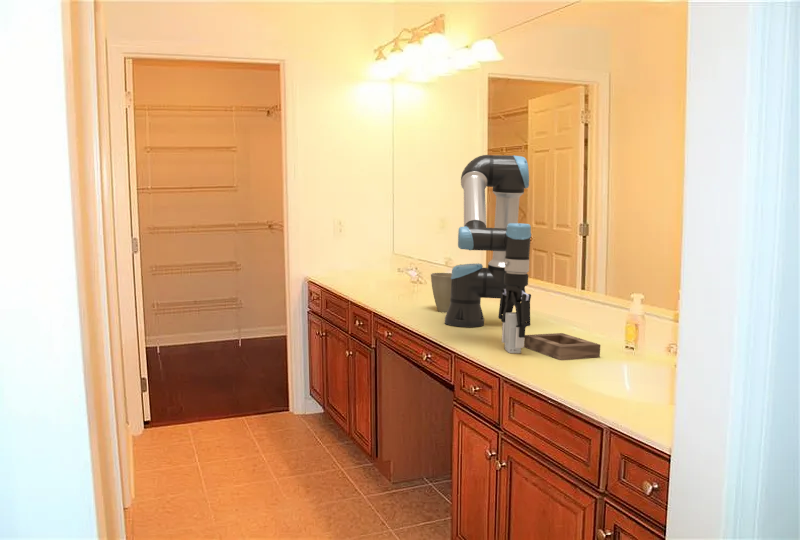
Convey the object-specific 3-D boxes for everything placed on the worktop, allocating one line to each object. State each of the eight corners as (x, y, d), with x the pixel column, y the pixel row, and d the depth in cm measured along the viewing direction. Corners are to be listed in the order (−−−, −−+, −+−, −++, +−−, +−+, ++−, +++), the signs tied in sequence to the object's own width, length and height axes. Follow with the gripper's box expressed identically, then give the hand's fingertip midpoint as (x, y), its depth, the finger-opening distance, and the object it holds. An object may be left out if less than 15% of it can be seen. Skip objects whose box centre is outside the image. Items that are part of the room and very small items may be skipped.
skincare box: (521, 353, 206) (523, 315, 205) (507, 353, 205) (509, 314, 204) (516, 349, 212) (519, 312, 211) (503, 349, 212) (505, 311, 210)
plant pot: (425, 312, 281) (426, 275, 279) (434, 307, 295) (435, 272, 293) (459, 315, 276) (461, 277, 275) (466, 310, 290) (468, 274, 289)
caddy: (523, 347, 216) (524, 335, 215) (561, 344, 222) (562, 333, 221) (560, 360, 198) (560, 347, 198) (599, 357, 204) (600, 344, 204)
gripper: (489, 269, 214) (485, 339, 216) (524, 276, 196) (520, 352, 198) (509, 269, 217) (505, 338, 219) (545, 276, 199) (541, 350, 201)
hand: (512, 344), depth 208 cm, fingers closed on skincare box, 7 cm apart
